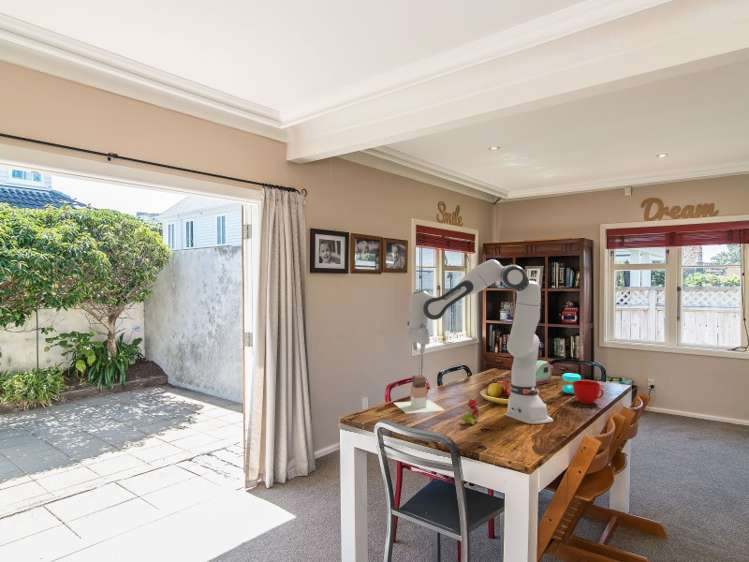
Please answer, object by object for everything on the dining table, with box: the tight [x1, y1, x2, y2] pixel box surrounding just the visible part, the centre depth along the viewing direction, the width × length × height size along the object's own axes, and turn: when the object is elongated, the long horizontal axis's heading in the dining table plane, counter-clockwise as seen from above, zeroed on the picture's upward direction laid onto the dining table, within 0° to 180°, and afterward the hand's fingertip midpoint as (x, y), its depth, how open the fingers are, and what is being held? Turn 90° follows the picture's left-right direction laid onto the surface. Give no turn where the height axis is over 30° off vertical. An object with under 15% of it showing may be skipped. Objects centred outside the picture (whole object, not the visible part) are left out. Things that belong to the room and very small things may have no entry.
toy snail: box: [536, 359, 554, 386], centre depth 298 cm, size 25×8×14 cm, turn 127°
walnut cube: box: [411, 374, 426, 388], centre depth 238 cm, size 5×5×5 cm
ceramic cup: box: [572, 380, 604, 405], centre depth 250 cm, size 13×17×10 cm
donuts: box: [561, 372, 582, 395], centre depth 274 cm, size 10×10×10 cm
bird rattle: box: [461, 398, 482, 426], centre depth 216 cm, size 6×11×9 cm
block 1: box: [410, 384, 427, 399], centre depth 238 cm, size 6×6×5 cm
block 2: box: [410, 395, 427, 408], centre depth 238 cm, size 6×6×5 cm
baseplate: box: [393, 399, 446, 415], centre depth 238 cm, size 20×20×1 cm
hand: (418, 351), depth 238 cm, fingers open, 8 cm apart
